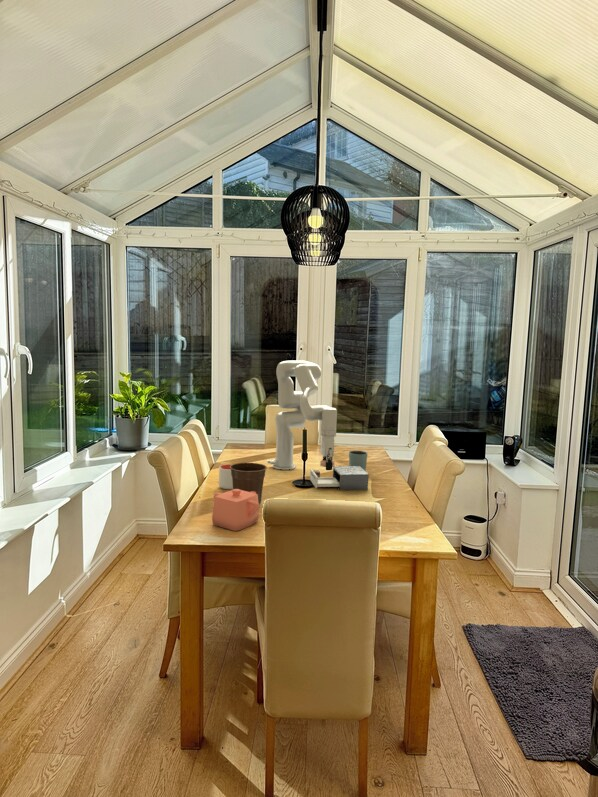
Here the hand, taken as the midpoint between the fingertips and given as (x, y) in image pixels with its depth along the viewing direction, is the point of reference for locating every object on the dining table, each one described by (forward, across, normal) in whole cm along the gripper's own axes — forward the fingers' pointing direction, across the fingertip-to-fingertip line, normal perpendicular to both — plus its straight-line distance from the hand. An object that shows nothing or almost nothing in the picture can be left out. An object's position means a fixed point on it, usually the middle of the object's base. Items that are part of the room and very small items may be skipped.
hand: (327, 467), depth 270 cm
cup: (+9, 0, -48) cm, 49 cm away
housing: (+9, 0, +12) cm, 15 cm away
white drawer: (+8, 0, 0) cm, 8 cm away
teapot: (+10, +48, -46) cm, 67 cm away
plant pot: (+10, +23, -41) cm, 48 cm away
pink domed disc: (-1, 0, 0) cm, 1 cm away
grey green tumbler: (+9, -22, +22) cm, 33 cm away
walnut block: (+9, -13, -3) cm, 16 cm away
